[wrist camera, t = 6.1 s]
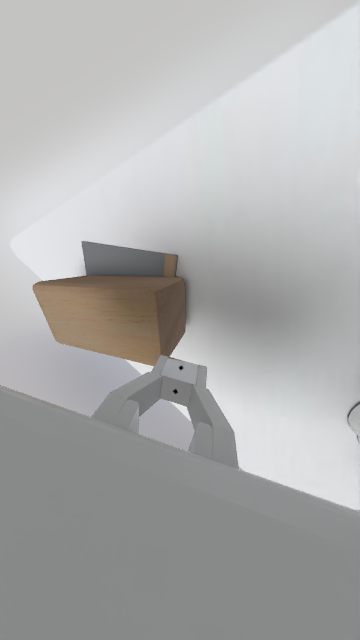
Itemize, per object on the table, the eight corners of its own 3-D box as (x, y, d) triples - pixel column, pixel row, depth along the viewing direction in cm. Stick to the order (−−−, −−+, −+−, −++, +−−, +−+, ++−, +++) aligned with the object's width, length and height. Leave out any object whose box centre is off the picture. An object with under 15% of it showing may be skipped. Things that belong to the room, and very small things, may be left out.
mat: (177, 255, 23) (174, 255, 21) (169, 324, 29) (167, 329, 27) (83, 241, 26) (73, 240, 24) (93, 307, 31) (85, 310, 29)
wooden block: (187, 276, 21) (90, 274, 28) (155, 289, 13) (25, 282, 19) (186, 333, 25) (102, 320, 32) (163, 372, 17) (53, 344, 23)
